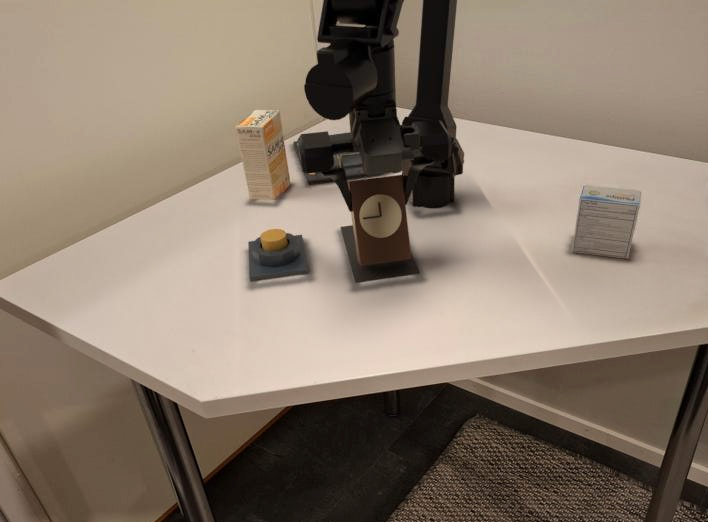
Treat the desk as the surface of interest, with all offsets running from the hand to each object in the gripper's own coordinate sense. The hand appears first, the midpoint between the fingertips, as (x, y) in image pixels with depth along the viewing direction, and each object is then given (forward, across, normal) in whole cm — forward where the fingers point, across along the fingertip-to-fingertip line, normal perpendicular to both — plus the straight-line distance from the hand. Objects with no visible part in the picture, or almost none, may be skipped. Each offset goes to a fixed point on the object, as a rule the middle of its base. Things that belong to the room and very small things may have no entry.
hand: (377, 207), depth 84 cm
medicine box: (+9, +32, -5) cm, 33 cm away
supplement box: (+10, -14, +27) cm, 33 cm away
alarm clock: (+3, 0, +1) cm, 3 cm away
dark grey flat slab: (+9, 0, +2) cm, 9 cm away
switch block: (+9, -14, +3) cm, 17 cm away
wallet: (+11, -1, +39) cm, 41 cm away
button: (+6, -14, +3) cm, 16 cm away
